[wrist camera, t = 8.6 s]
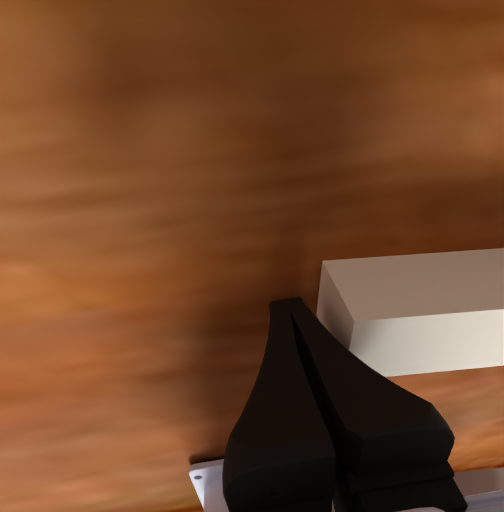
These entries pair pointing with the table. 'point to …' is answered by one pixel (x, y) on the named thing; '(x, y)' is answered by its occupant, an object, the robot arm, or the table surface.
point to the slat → (417, 310)
